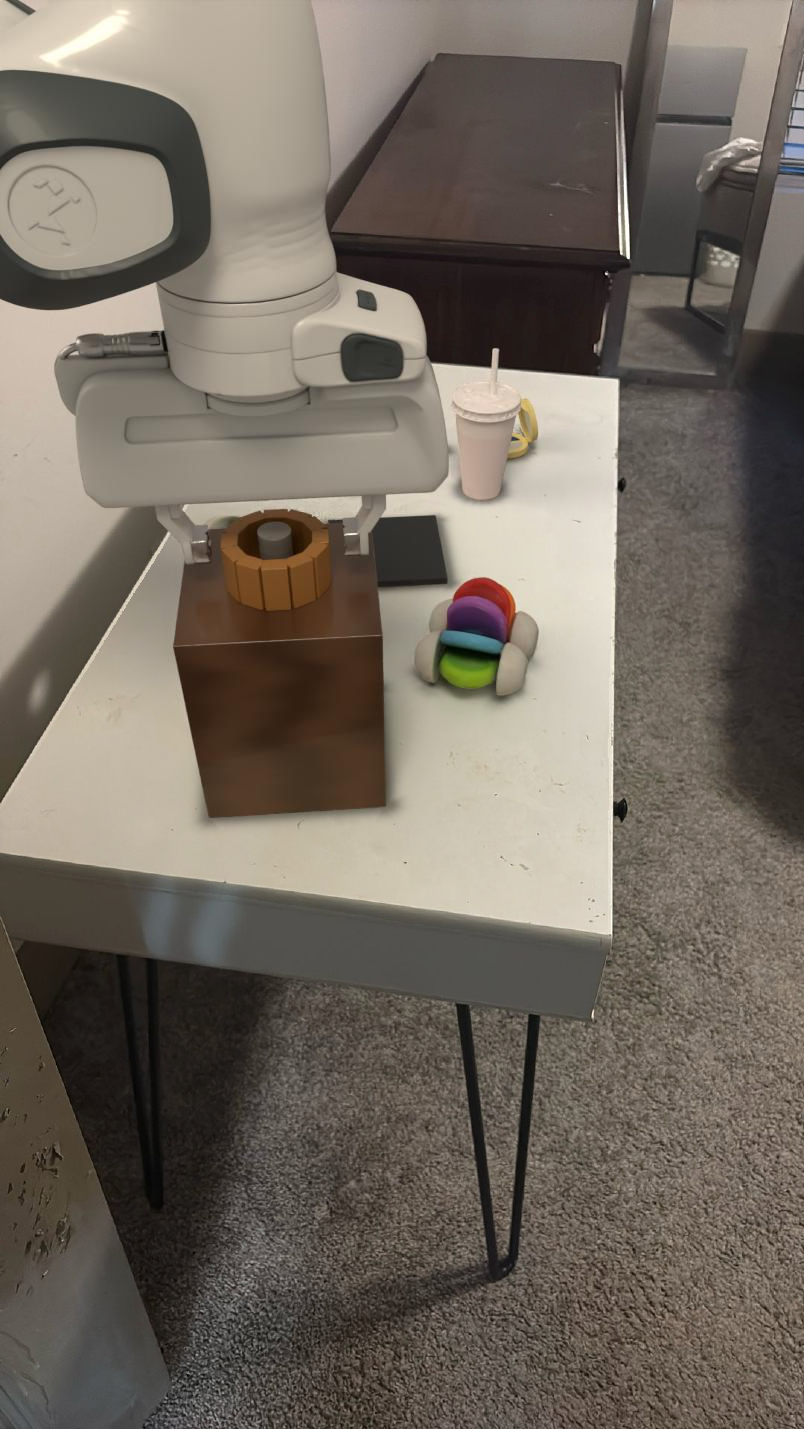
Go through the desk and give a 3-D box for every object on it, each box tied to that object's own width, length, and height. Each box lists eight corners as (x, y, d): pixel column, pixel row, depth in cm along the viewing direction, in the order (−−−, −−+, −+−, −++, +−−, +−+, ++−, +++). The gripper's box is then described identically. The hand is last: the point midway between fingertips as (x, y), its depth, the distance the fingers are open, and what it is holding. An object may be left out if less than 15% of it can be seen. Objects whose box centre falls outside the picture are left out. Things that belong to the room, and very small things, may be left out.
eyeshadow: (479, 440, 104) (482, 395, 101) (524, 434, 105) (528, 390, 102) (492, 460, 101) (495, 415, 98) (539, 454, 102) (543, 409, 99)
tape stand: (208, 818, 67) (162, 596, 54) (217, 697, 76) (180, 482, 63) (386, 807, 68) (381, 586, 55) (375, 688, 77) (369, 474, 64)
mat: (331, 589, 86) (331, 583, 85) (328, 525, 93) (328, 519, 93) (447, 583, 86) (447, 577, 86) (435, 520, 94) (435, 514, 93)
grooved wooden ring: (224, 613, 59) (217, 571, 57) (229, 551, 64) (223, 511, 62) (332, 608, 59) (330, 566, 57) (329, 547, 64) (327, 506, 62)
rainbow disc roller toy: (541, 639, 81) (550, 564, 76) (514, 718, 74) (522, 642, 69) (441, 619, 83) (443, 545, 78) (405, 694, 76) (405, 619, 71)
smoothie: (516, 507, 95) (528, 365, 85) (448, 507, 95) (453, 365, 85) (512, 473, 100) (523, 334, 90) (447, 472, 100) (452, 334, 90)
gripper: (33, 363, 48) (96, 595, 57) (457, 345, 49) (449, 576, 59) (55, 311, 52) (110, 534, 62) (443, 296, 54) (438, 517, 63)
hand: (278, 554), depth 60 cm, fingers open, 8 cm apart
